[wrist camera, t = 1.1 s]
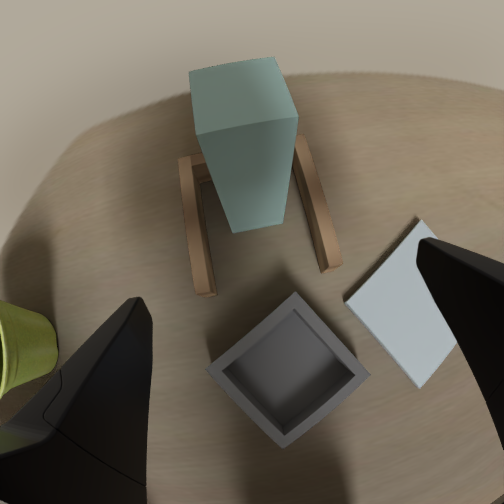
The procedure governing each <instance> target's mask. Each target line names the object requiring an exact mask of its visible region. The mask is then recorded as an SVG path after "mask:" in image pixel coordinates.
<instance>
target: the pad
mask: <svg viewBox="0 0 504 504" xmlns="http://www.w3.org/2000/svg"><path fill="white" fill-rule="evenodd" d="M427 237H432V238H435V239H437V237H436V236H435V235H434V234H433V233H432V231H431V230H430V229H429V228H428V227H427V226H426V224H425V223H424V222H423V221H422V220H420V221H419V222H418V223H417V224H416V225H415V226H414V228H413V229H412V230H411V231H410V232H409V234H408V235H407V236H406V237H405V238H404V239H403V241H402V242H401V243H400V244H399V245H398V246H397V247H396V249H395V250H394V251H393V252H392V253H391V254H390V255H389V256H388V258H387V259H386V260H385V261H384V262H383V263H382V264H381V265H380V266H379V267H378V268H377V270H376V271H375V272H374V273H373V274H372V275H371V276H370V277H369V278H368V279H367V280H366V281H365V282H364V283H363V284H362V285H361V286H360V287H359V288H358V289H357V291H356V292H355V293H354V294H353V295H352V296H351V297H350V298H349V299H348V300H347V301H346V302H345V303H344V304H345V305H346V306H347V307H348V308H349V309H350V310H351V311H352V313H353V314H354V315H355V316H356V317H357V318H358V319H359V320H360V322H361V323H362V324H363V325H364V326H365V327H366V328H367V330H368V331H369V332H370V333H371V334H372V335H373V336H374V338H375V339H376V340H377V341H378V342H379V343H380V344H381V346H382V347H383V348H384V349H385V350H386V351H387V353H388V354H389V355H390V356H391V357H392V358H393V360H394V361H395V362H396V363H397V364H398V365H399V367H400V368H401V369H402V370H403V371H404V373H405V374H406V375H407V376H408V377H409V379H410V380H411V381H412V382H413V383H414V385H415V386H416V387H418V388H421V387H422V386H423V384H424V383H425V382H426V381H427V380H428V379H429V377H430V376H431V375H432V374H433V373H434V371H435V370H436V369H437V368H438V367H439V365H440V364H441V363H442V361H443V360H444V359H445V358H446V356H447V355H448V354H449V352H450V351H451V350H452V348H453V347H454V346H455V344H456V343H457V341H456V339H455V337H454V335H453V333H452V332H451V330H450V328H449V326H448V324H447V323H446V321H445V319H444V317H443V316H442V314H441V312H440V311H439V309H438V307H437V305H436V304H435V302H434V300H433V298H432V296H431V294H430V292H429V290H428V288H427V286H426V284H425V282H424V280H423V278H422V276H421V274H420V272H419V270H418V268H417V265H416V256H417V249H418V243H419V241H420V240H421V239H423V238H427Z"/></svg>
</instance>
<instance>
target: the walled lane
mask: <svg viewBox="0 0 504 504" xmlns="http://www.w3.org/2000/svg"><path fill="white" fill-rule="evenodd" d="M178 166H179V176H180V186H181V195H182V203H183V212H184V220H185V227H186V235H187V242H188V249H189V256H190V263H191V269H192V276H193V282H194V288H195V294H197V295H199V296H202V297H210V296H216V295H217V290H216V284H215V278H214V273H213V267H212V261H211V255H210V249H209V243H208V237H207V230H206V224H205V217H204V211H203V204H202V197H201V190H200V183H202V182H207V181H211V180H212V177H211V174H210V172H209V169H208V166H207V164H206V161H205V158H204V156H203V153H198V154H193V155H189V156H185V157H181V158H178ZM292 166H293V170H294V173H295V177H296V180H297V183H298V187H299V190H300V194H301V198H302V201H303V205H304V208H305V212H306V216H307V219H308V223H309V227H310V231H311V235H312V239H313V242H314V246H315V250H316V254H317V259H318V263H319V267H320V271H321V274H322V273H326V272H331V271H334V270H335V269H337V268H338V267H339V266H341V265H342V264H343V261H342V257H341V253H340V249H339V245H338V242H337V238H336V234H335V231H334V227H333V223H332V220H331V216H330V213H329V210H328V206H327V203H326V200H325V196H324V193H323V190H322V187H321V183H320V180H319V177H318V174H317V171H316V168H315V165H314V162H313V159H312V156H311V153H310V150H309V147H308V144H307V142H306V139H305V136H304V134H299V135H296V140H295V147H294V154H293V161H292Z"/></svg>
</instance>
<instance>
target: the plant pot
mask: <svg viewBox="0 0 504 504" xmlns="http://www.w3.org/2000/svg"><path fill="white" fill-rule="evenodd" d="M57 359H58V349H57V344H56V333H55V330H54V328H53V326H52V325H51V323H50V322H49V320H48V319H47V318H46V317H45V316H43V315H42V314H39V313H36V312H33V311H30V310H27V309H24V308H21V307H18V306H15V305H12V304H9V303H7V302H4V301H1V300H0V399H1V398H2V396H3V394H5V393H7V392H8V391H9V390H10V389H11V388H14V387H16V386H18V385H21V384H23V383H26V382H28V381H31V380H33V379H36V378H38V377H41V376H43V375H45V374H48V373H49V372H51V371H52V370H53V368H54V367H55V365H56V362H57Z"/></svg>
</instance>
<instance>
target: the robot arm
mask: <svg viewBox="0 0 504 504" xmlns="http://www.w3.org/2000/svg"><path fill="white" fill-rule="evenodd" d="M416 265H417V268H418V270H419V272H420V274H421V276H422V278H423V280H424V282H425V284H426V286H427V288H428V290H429V292H430V294H431V296H432V298H433V300H434V302H435V304H436V305H437V307H438V309H439V311H440V312H441V314H442V316H443V317H444V319H445V321H446V323H447V324H448V326H449V328H450V330H451V332H452V333H453V335H454V337H455V339H456V341H457V343H458V345H459V346H460V348H461V350H462V352H463V354H464V356H465V358H466V360H467V362H468V364H469V366H470V368H471V370H472V372H473V375H474V377H475V379H476V381H477V383H478V385H479V388H480V390H481V392H482V394H483V397H484V399H485V401H486V404H487V407H488V409H489V412H490V414H491V417H492V419H493V422H494V425H495V427H496V430H497V433H498V436H499V438H500V441H501V444H502V447H503V450H504V264H503V263H501V262H498V261H496V260H493V259H491V258H488V257H485V256H483V255H480V254H478V253H475V252H472V251H469V250H467V249H464V248H461V247H458V246H456V245H453V244H450V243H447V242H444V241H441V240H438V239H435V238H432V237H427V238H423V239H421V240H420V241H419V243H418V249H417V256H416ZM152 334H153V322H152V317H151V315H150V313H149V311H148V309H147V307H146V305H145V303H144V301H143V299H142V298H141V297H134V298H129V299H127V300H126V301H125V302H124V303H123V304H122V305H121V306H120V307H119V308H118V309H117V310H116V311H115V312H114V313H113V314H112V315H111V316H110V317H109V318H108V319H107V320H106V321H105V322H104V323H103V324H102V325H101V326H100V327H99V328H98V329H97V330H96V331H95V332H94V333H93V334H92V335H91V336H90V337H89V339H88V340H87V341H86V342H85V343H84V344H83V345H82V346H81V347H80V348H79V349H78V350H77V351H76V352H75V353H74V354H73V355H72V356H71V357H70V358H69V359H68V361H67V362H66V363H65V364H64V365H63V366H62V367H61V369H59V370H58V371H57V372H56V373H55V375H54V376H53V377H52V378H51V379H50V380H49V381H48V382H47V383H46V384H45V385H44V386H43V387H42V388H41V389H40V390H39V391H38V392H37V393H36V394H35V395H34V396H33V397H32V398H31V399H30V400H29V401H28V402H27V403H26V404H25V405H24V406H23V407H22V408H21V409H20V410H19V411H18V412H17V413H16V414H15V415H14V416H13V417H12V418H11V419H10V420H9V421H8V422H6V423H5V424H3V425H1V426H0V504H147V489H146V487H145V486H146V460H147V431H148V414H149V399H150V387H151V376H152V361H153V352H152ZM491 504H504V494H503V495H502V496H500V497H499V498H498V499H496V500H495V501H494V502H492V503H491Z"/></svg>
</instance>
